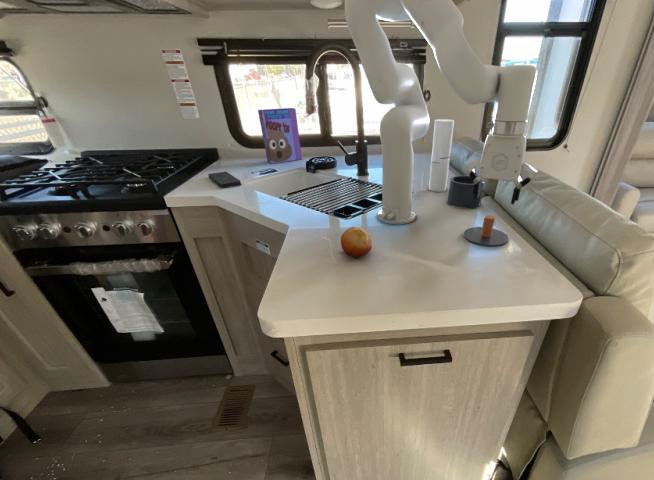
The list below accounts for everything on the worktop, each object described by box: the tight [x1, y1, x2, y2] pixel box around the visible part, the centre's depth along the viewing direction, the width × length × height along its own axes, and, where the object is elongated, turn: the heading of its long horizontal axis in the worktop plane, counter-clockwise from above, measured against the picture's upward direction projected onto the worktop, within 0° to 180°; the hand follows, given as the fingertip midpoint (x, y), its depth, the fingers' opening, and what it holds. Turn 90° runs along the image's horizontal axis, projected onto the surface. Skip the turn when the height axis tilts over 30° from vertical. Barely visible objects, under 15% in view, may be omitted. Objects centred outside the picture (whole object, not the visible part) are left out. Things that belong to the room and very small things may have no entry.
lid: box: [463, 214, 510, 248], centre depth 92 cm, size 13×13×7 cm
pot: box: [447, 175, 485, 210], centre depth 117 cm, size 12×12×8 cm
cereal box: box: [257, 107, 303, 165], centre depth 166 cm, size 17×5×24 cm, turn 130°
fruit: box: [340, 226, 373, 259], centre depth 83 cm, size 8×8×8 cm
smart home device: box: [207, 171, 242, 189], centre depth 139 cm, size 8×2×20 cm
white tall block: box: [428, 118, 455, 193], centre depth 126 cm, size 7×7×25 cm
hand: (494, 200), depth 87 cm, fingers open, 9 cm apart
